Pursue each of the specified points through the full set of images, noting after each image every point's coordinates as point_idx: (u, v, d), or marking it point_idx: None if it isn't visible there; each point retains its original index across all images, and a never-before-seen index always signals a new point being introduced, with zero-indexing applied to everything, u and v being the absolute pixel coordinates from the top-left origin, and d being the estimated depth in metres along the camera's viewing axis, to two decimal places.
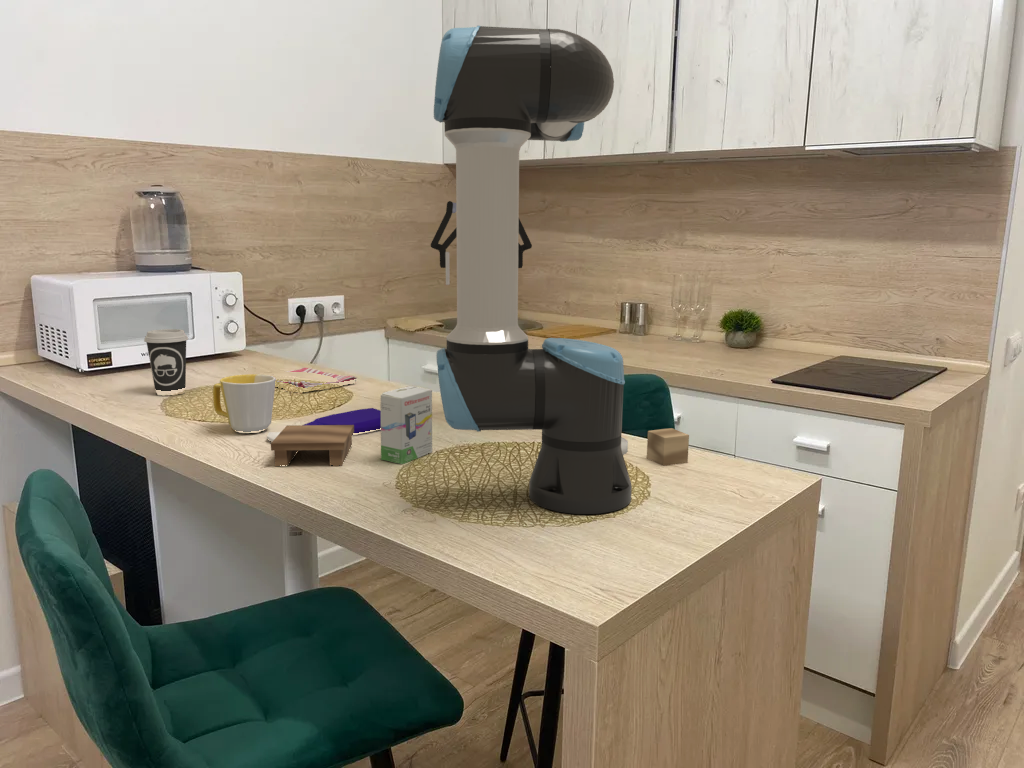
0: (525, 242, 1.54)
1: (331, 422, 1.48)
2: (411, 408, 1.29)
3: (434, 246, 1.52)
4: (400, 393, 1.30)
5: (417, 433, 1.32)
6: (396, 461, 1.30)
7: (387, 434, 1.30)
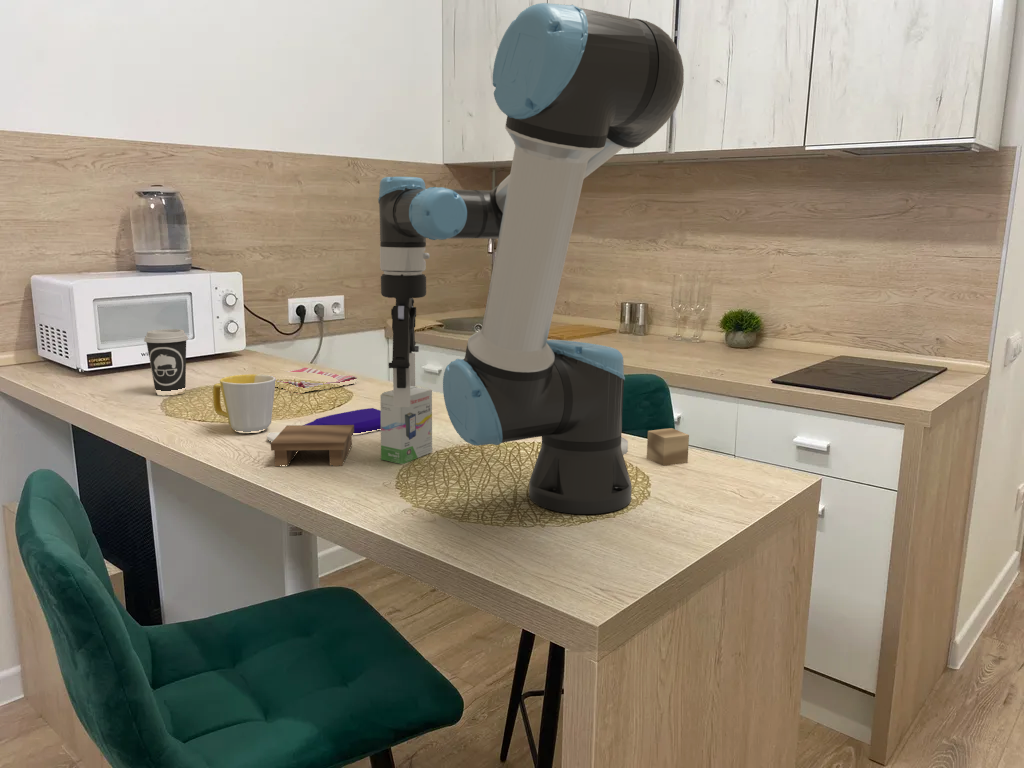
0: None
1: (331, 422, 1.48)
2: (411, 408, 1.29)
3: None
4: None
5: (417, 433, 1.32)
6: (396, 461, 1.30)
7: (387, 434, 1.30)
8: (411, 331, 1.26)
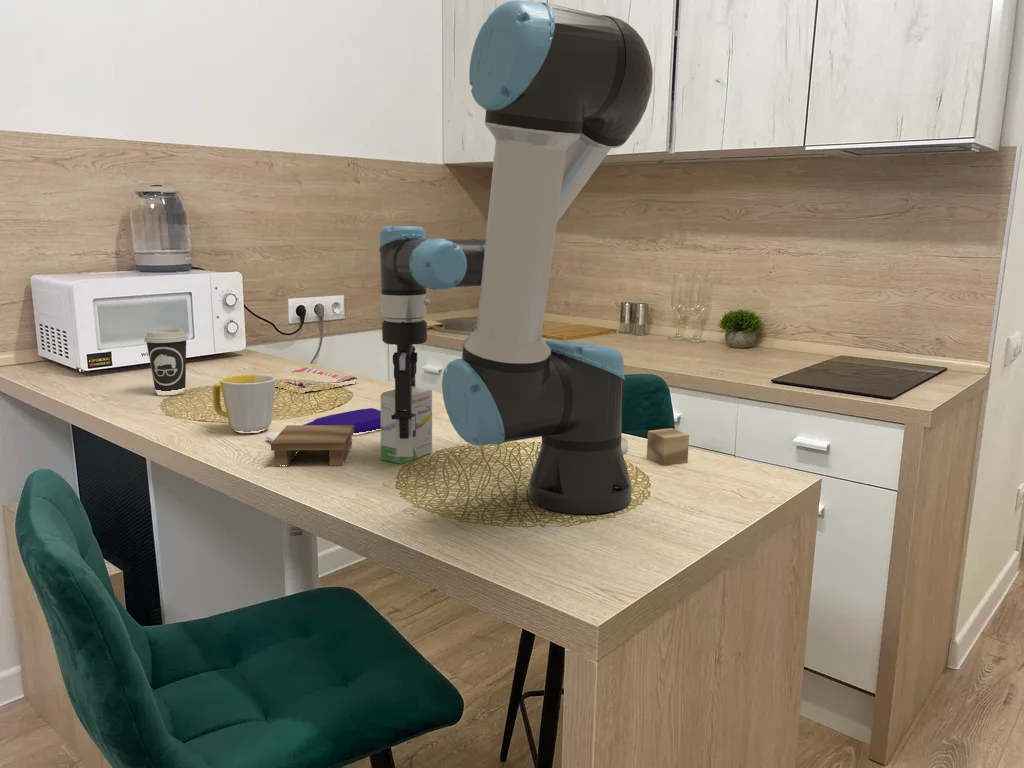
0: None
1: (331, 422, 1.48)
2: (411, 408, 1.29)
3: None
4: None
5: (417, 433, 1.31)
6: (396, 461, 1.30)
7: (387, 434, 1.30)
8: (413, 379, 1.28)
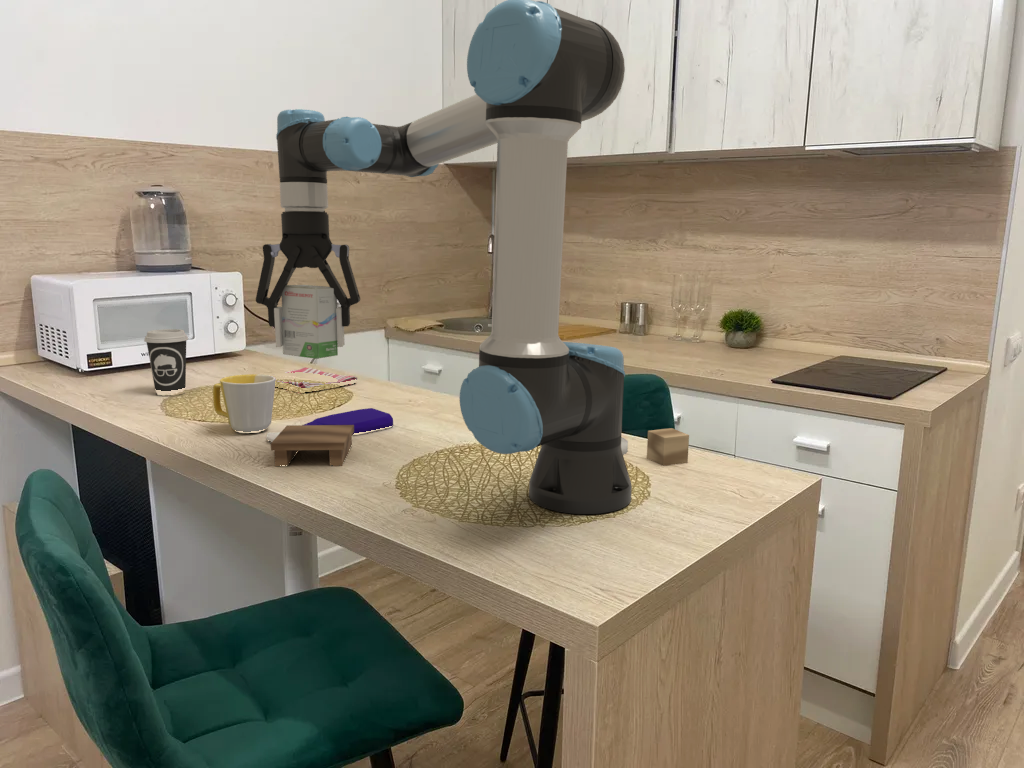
0: (351, 295, 1.28)
1: (331, 422, 1.48)
2: None
3: (260, 301, 1.27)
4: None
5: None
6: (333, 354, 1.29)
7: (325, 328, 1.27)
8: None
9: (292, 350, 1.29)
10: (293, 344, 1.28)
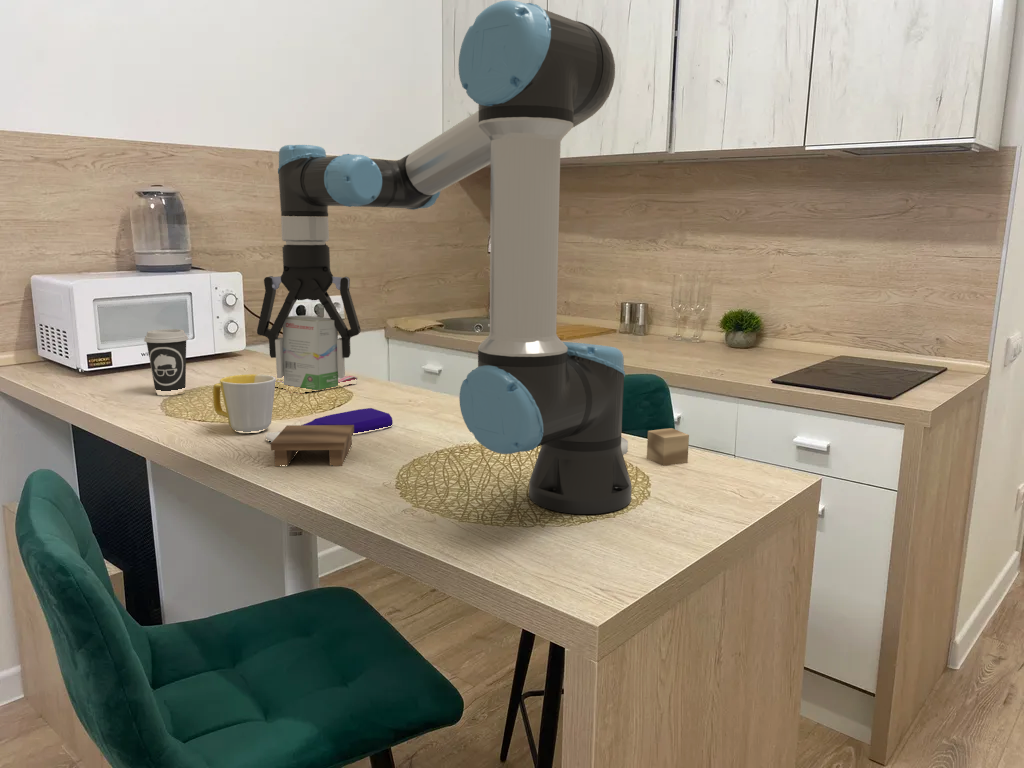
0: (351, 327, 1.29)
1: (330, 422, 1.48)
2: None
3: (261, 333, 1.28)
4: (317, 318, 1.28)
5: None
6: (334, 385, 1.30)
7: (326, 360, 1.28)
8: None
9: (293, 381, 1.30)
10: (294, 375, 1.29)
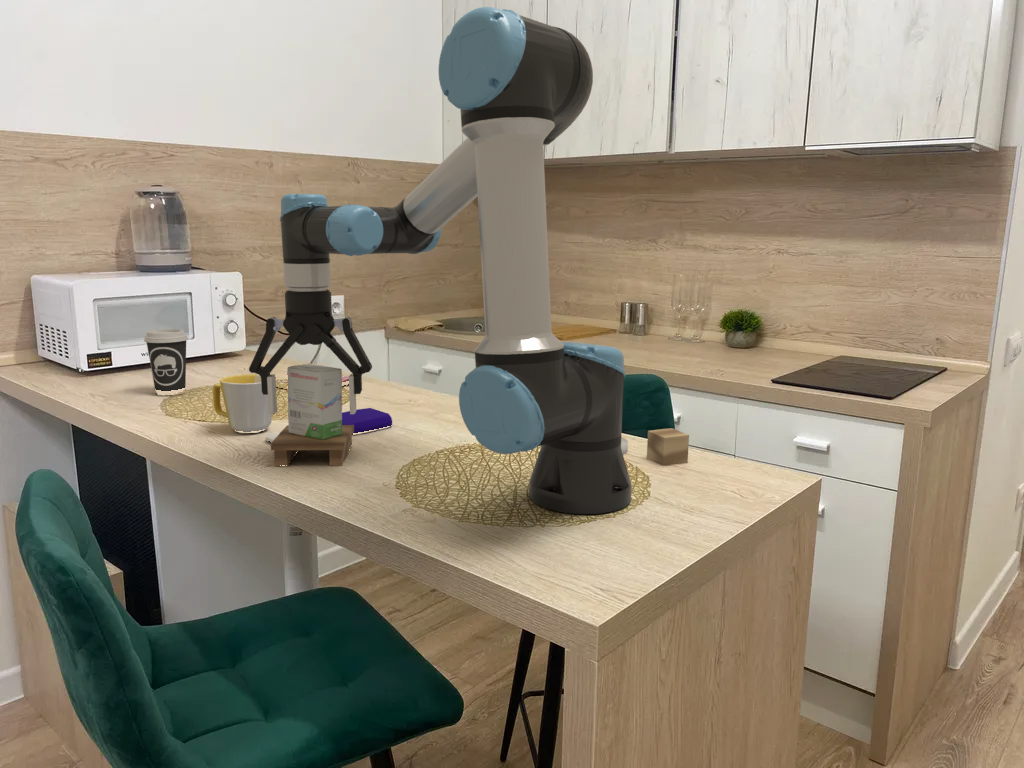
0: (362, 365, 1.30)
1: None
2: None
3: (253, 370, 1.29)
4: (322, 368, 1.30)
5: None
6: (338, 433, 1.32)
7: (330, 410, 1.29)
8: None
9: (298, 430, 1.31)
10: (298, 423, 1.31)
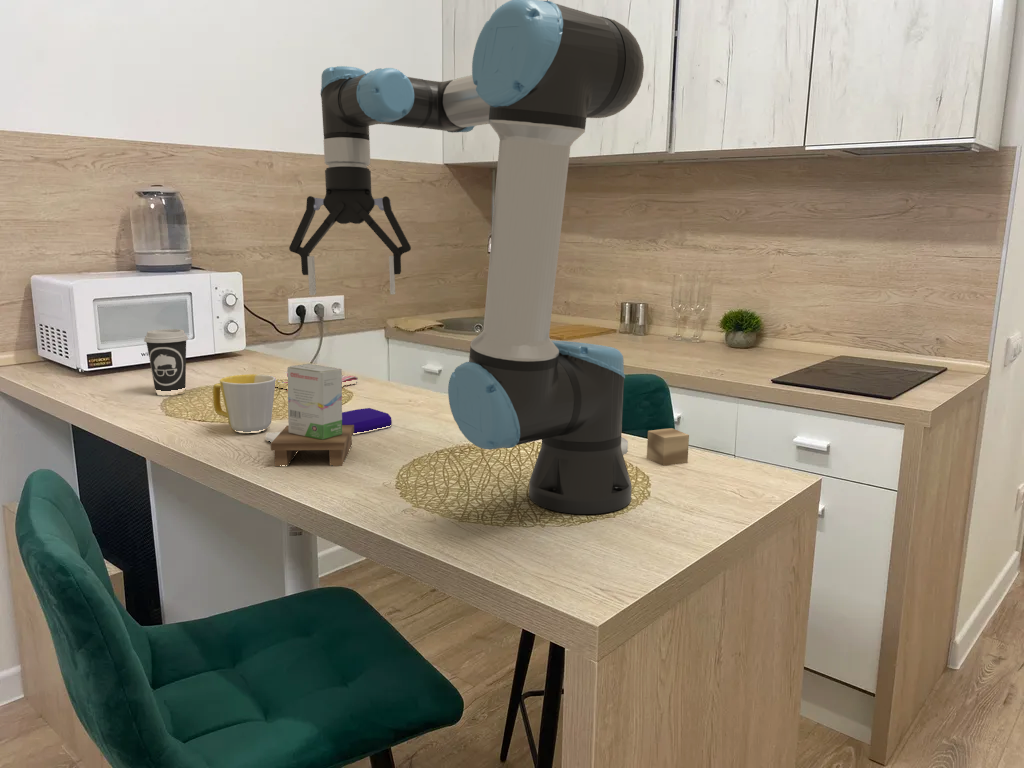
0: (402, 244, 1.31)
1: None
2: None
3: (293, 249, 1.29)
4: (322, 368, 1.30)
5: None
6: (338, 433, 1.32)
7: (330, 410, 1.29)
8: None
9: (298, 430, 1.31)
10: (298, 423, 1.31)
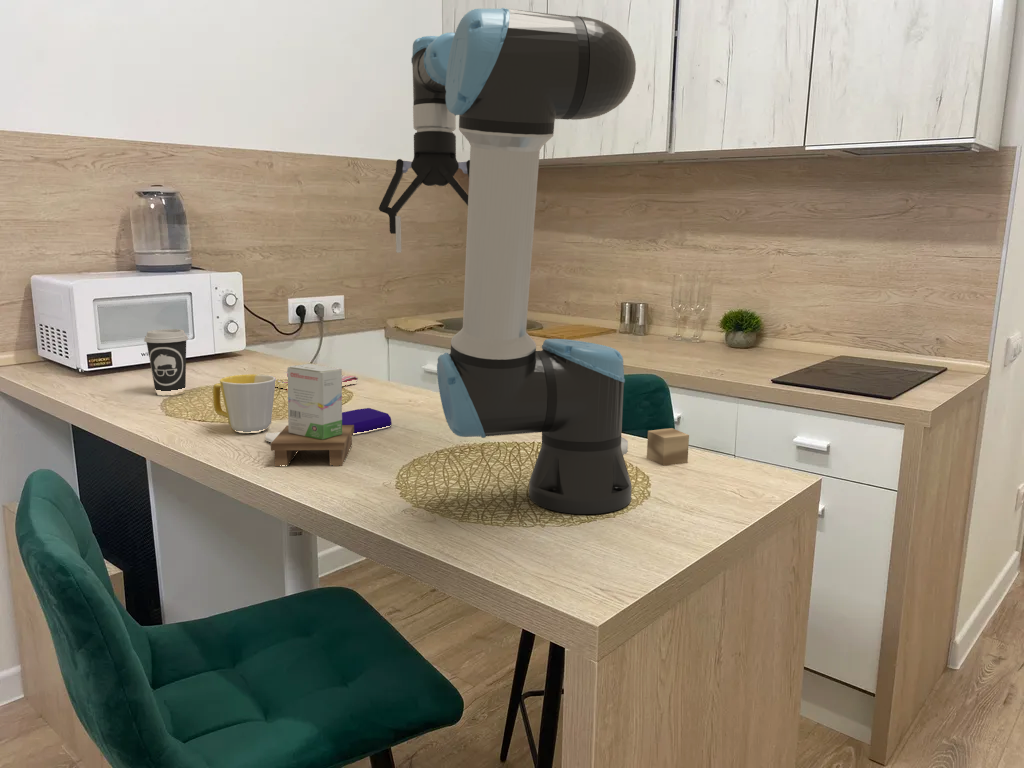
0: None
1: None
2: None
3: (383, 209, 1.38)
4: (322, 368, 1.30)
5: None
6: (338, 433, 1.32)
7: (330, 410, 1.29)
8: None
9: (298, 430, 1.31)
10: (298, 423, 1.31)
